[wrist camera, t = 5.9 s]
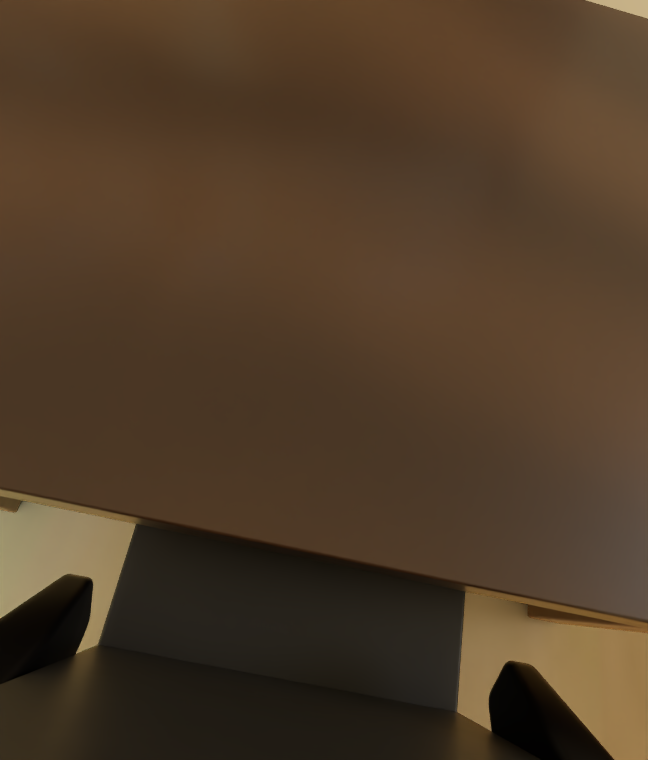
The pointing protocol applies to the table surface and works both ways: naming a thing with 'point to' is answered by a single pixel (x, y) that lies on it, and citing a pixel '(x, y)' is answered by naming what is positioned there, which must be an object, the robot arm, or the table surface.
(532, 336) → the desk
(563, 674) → the table surface
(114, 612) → the dark high-back seat
